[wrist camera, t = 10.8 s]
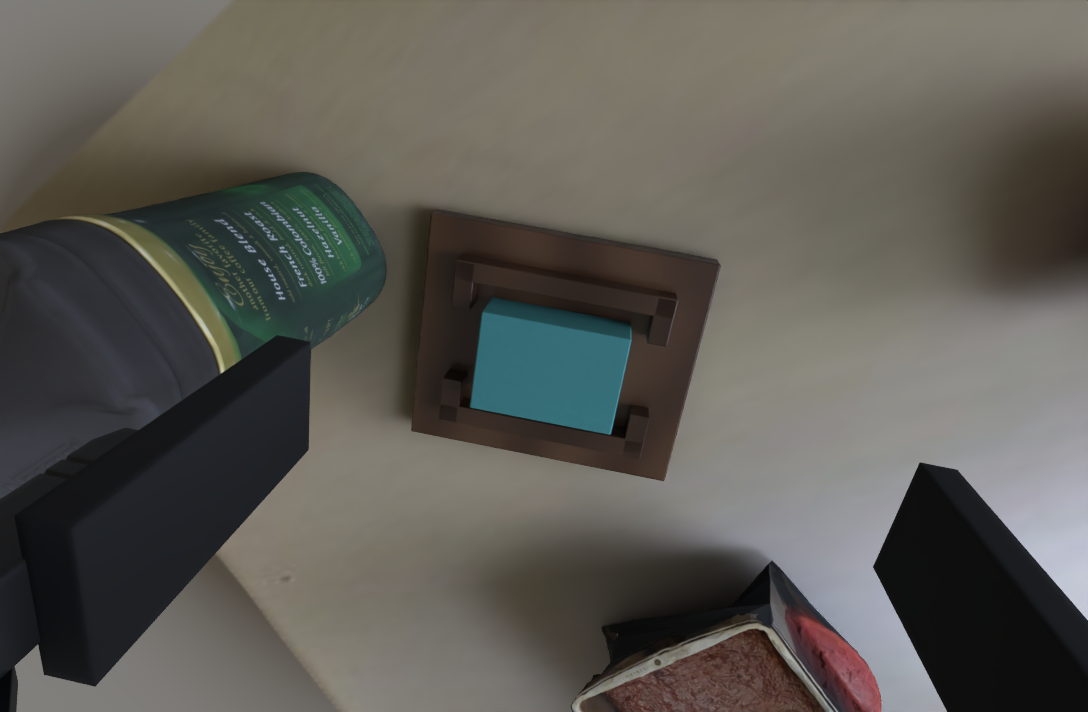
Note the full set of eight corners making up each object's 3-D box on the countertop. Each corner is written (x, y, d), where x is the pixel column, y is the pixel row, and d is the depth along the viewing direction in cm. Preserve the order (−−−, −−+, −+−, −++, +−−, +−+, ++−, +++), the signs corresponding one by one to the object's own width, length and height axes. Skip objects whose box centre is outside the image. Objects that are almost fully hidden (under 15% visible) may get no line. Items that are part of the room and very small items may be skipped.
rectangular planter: (680, 749, 46) (719, 922, 37) (542, 595, 39) (549, 761, 30) (874, 667, 43) (968, 834, 34) (761, 485, 36) (841, 633, 27)
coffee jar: (321, 142, 32) (-34, 183, 15) (415, 278, 34) (197, 455, 17) (186, 244, 35) (-248, 379, 18) (279, 365, 37) (-28, 593, 19)
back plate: (417, 421, 37) (403, 441, 35) (437, 209, 33) (423, 216, 30) (663, 470, 36) (665, 494, 34) (718, 259, 32) (724, 271, 30)
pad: (480, 386, 34) (469, 408, 32) (492, 296, 33) (481, 311, 30) (611, 412, 34) (610, 435, 32) (631, 322, 32) (631, 339, 30)
